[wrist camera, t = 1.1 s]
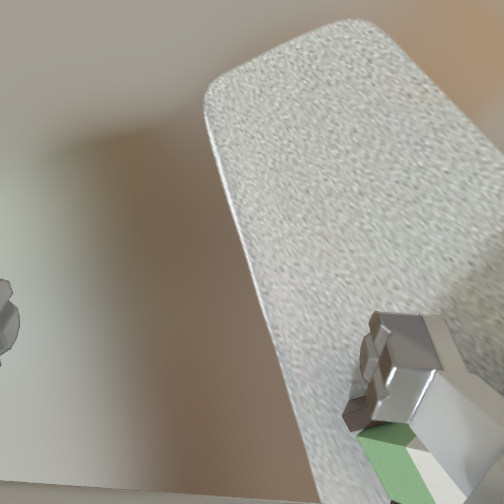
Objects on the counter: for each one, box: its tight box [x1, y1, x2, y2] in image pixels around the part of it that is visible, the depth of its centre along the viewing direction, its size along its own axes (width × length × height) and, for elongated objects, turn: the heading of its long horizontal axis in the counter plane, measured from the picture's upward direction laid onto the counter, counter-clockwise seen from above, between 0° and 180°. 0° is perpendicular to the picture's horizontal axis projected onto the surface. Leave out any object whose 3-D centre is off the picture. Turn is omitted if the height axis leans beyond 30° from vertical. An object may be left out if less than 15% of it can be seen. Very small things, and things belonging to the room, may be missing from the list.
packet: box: [357, 422, 467, 504], centre depth 32 cm, size 16×6×3 cm
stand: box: [342, 396, 401, 504], centre depth 38 cm, size 4×10×2 cm, turn 32°
